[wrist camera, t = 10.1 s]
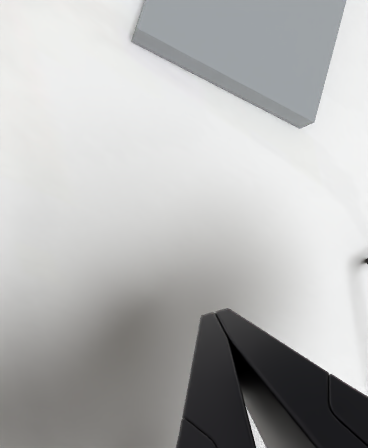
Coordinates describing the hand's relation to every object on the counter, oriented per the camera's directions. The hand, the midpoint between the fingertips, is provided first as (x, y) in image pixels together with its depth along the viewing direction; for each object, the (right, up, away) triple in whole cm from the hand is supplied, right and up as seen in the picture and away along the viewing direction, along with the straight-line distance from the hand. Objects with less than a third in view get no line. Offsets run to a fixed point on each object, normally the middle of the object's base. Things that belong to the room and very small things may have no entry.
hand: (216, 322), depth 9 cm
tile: (+2, +11, +10) cm, 15 cm away
